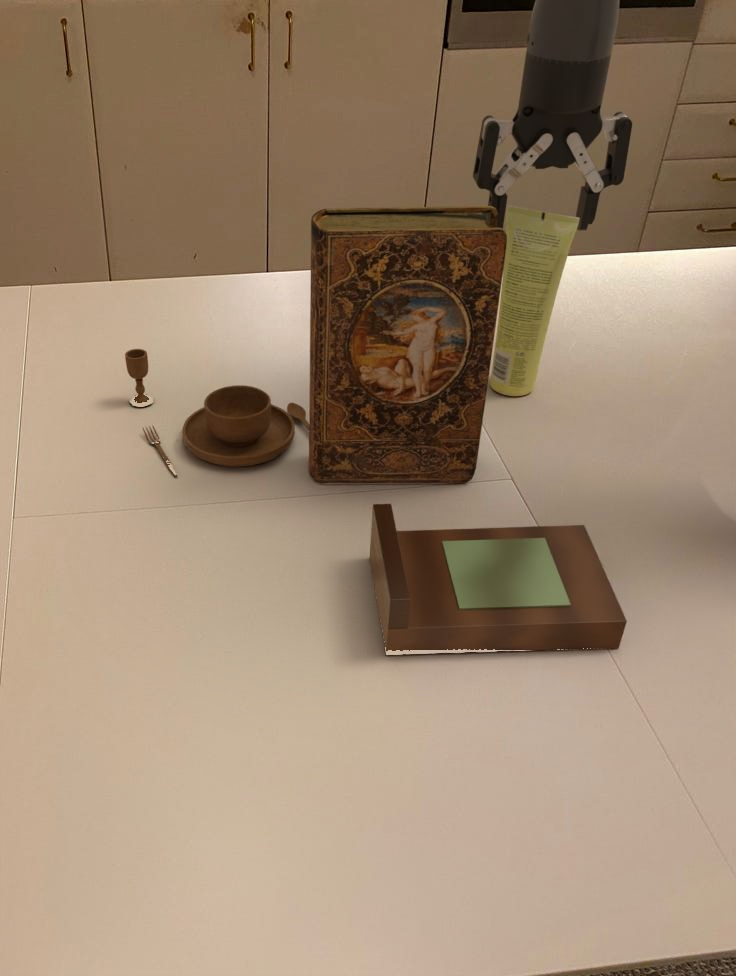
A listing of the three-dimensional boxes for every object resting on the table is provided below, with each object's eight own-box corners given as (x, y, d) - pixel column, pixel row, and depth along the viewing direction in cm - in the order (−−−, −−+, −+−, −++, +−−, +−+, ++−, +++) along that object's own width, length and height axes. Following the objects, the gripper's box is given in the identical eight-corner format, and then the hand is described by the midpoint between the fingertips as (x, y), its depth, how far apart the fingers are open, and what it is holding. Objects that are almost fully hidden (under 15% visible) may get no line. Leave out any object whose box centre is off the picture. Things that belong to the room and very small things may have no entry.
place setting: (177, 490, 99) (172, 438, 95) (121, 400, 113) (115, 351, 109) (335, 451, 103) (336, 400, 99) (263, 369, 117) (262, 321, 113)
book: (308, 484, 99) (311, 232, 82) (308, 455, 103) (311, 208, 86) (473, 484, 98) (510, 229, 81) (467, 454, 102) (500, 205, 85)
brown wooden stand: (577, 551, 90) (591, 496, 86) (618, 648, 80) (635, 592, 76) (369, 558, 90) (372, 503, 86) (385, 656, 80) (390, 600, 76)
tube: (528, 373, 114) (559, 199, 101) (546, 394, 111) (580, 216, 98) (482, 379, 114) (506, 204, 101) (498, 400, 110) (526, 222, 97)
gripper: (499, 59, 86) (475, 245, 97) (661, 54, 86) (619, 241, 97) (482, 39, 92) (462, 218, 103) (635, 35, 92) (598, 213, 103)
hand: (538, 229), depth 100 cm, fingers open, 8 cm apart
